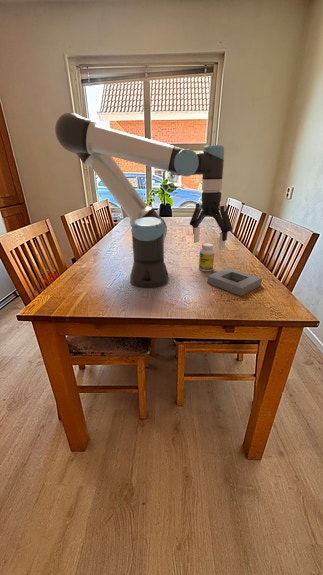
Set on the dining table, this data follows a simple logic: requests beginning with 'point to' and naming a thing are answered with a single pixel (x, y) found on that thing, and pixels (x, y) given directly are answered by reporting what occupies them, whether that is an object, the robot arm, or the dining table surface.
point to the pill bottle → (206, 257)
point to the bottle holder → (240, 288)
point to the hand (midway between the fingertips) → (208, 245)
